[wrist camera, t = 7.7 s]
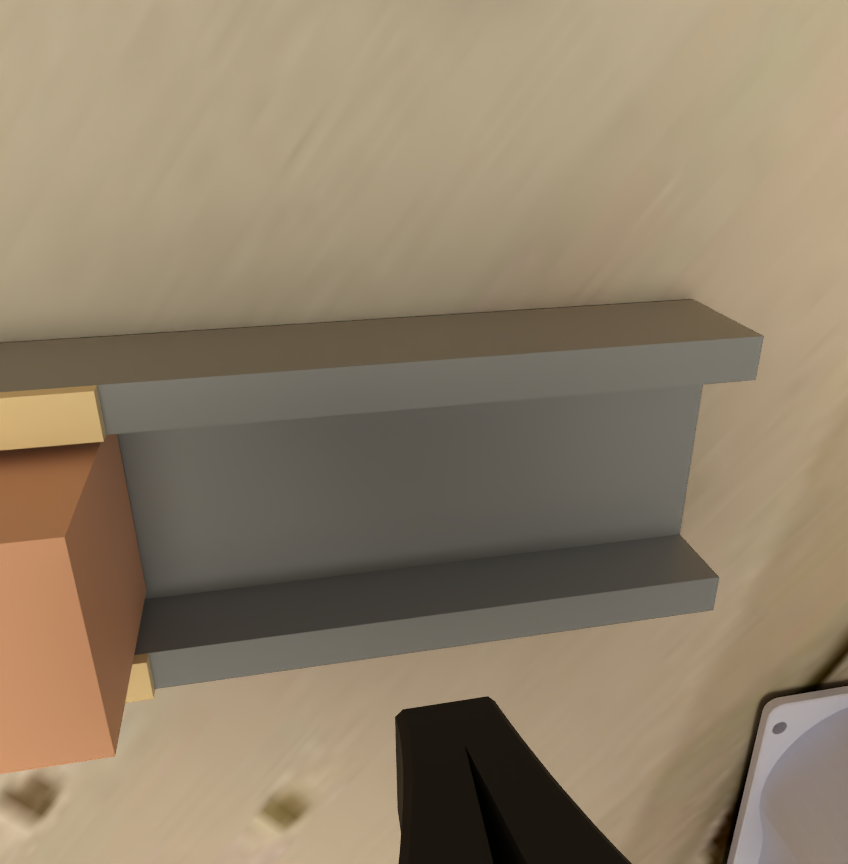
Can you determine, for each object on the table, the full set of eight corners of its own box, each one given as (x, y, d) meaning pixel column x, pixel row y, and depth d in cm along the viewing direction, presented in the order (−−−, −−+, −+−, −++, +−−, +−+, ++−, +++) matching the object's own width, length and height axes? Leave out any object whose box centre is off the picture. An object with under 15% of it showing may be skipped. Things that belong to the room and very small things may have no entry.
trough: (692, 298, 20) (824, 368, 15) (657, 545, 23) (758, 663, 18) (-219, 356, 16) (-399, 469, 11) (-115, 641, 19) (-225, 817, 14)
